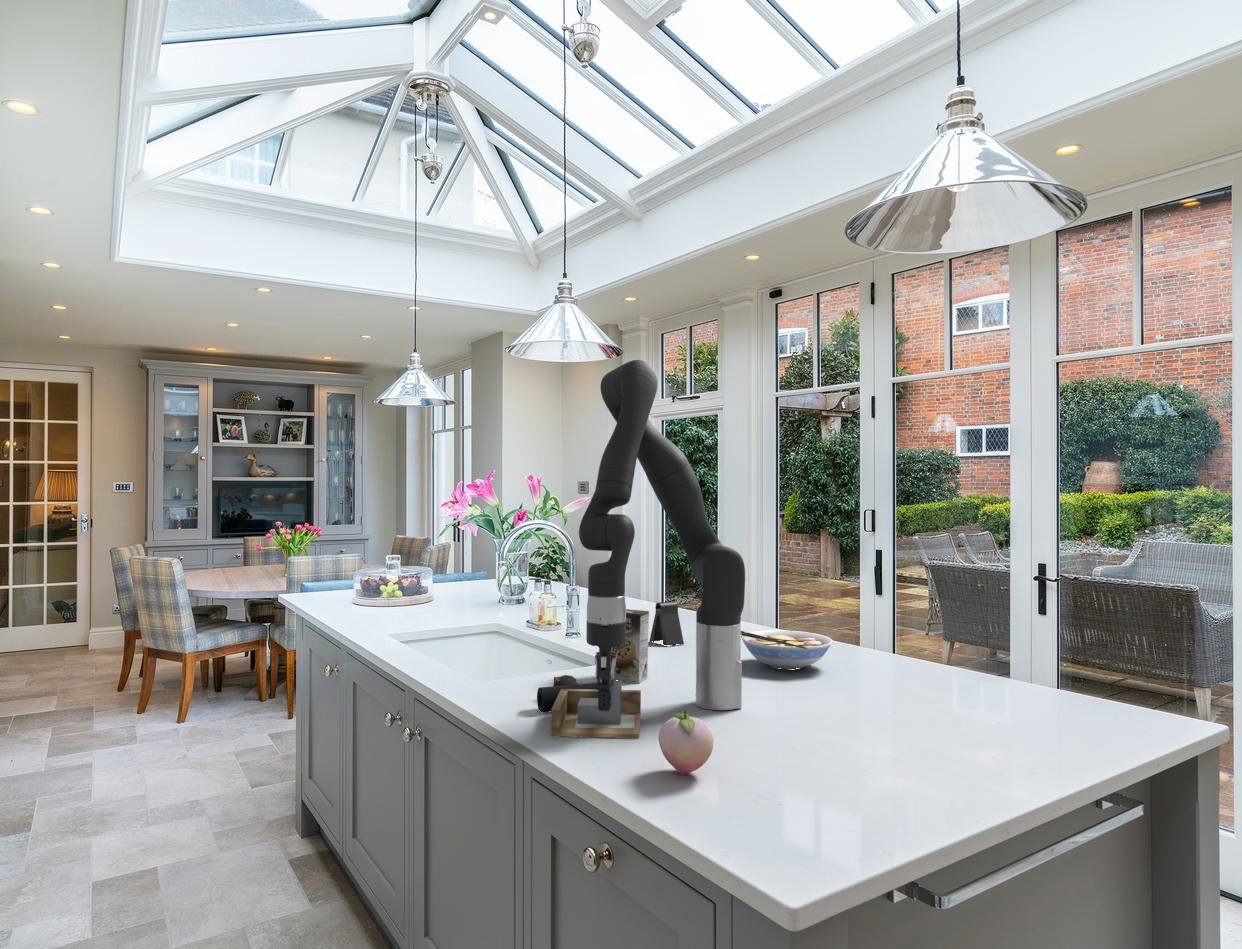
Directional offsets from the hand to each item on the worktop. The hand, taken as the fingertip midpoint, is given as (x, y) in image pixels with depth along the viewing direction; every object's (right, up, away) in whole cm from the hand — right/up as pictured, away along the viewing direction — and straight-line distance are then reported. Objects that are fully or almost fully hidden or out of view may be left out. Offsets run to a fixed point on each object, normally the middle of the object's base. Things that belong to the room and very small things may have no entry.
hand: (605, 704), depth 150 cm
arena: (-1, -4, +1) cm, 4 cm away
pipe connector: (-8, -5, +15) cm, 18 cm away
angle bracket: (-1, -3, 0) cm, 3 cm away
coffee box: (+4, -5, +37) cm, 37 cm away
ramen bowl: (+45, -5, +50) cm, 67 cm away
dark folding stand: (+16, -6, +79) cm, 81 cm away
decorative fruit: (+13, -4, -25) cm, 28 cm away
